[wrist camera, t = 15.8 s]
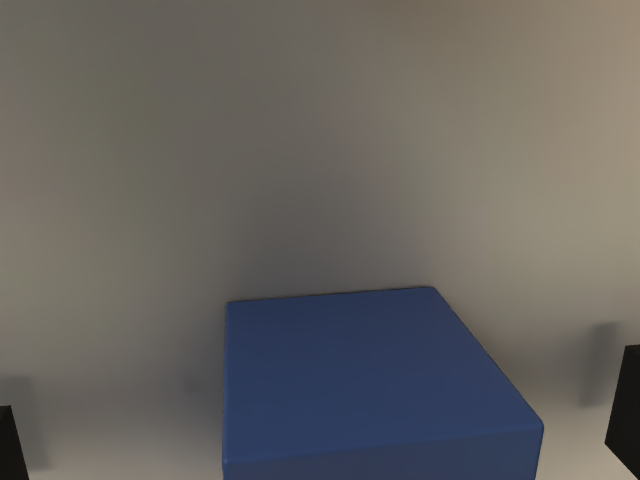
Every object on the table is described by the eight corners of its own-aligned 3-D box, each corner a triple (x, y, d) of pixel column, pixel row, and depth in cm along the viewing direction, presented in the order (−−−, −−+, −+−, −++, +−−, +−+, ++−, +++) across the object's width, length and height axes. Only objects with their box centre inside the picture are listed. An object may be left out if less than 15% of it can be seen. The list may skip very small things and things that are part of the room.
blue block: (238, 471, 13) (242, 685, 9) (225, 300, 11) (221, 462, 7) (421, 449, 14) (508, 638, 9) (434, 285, 12) (547, 424, 8)
